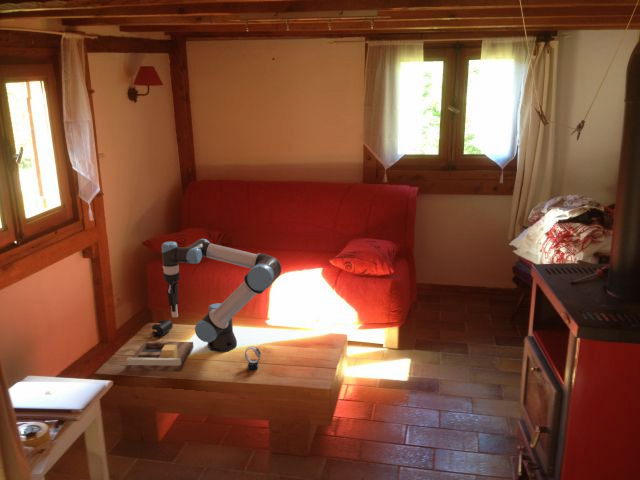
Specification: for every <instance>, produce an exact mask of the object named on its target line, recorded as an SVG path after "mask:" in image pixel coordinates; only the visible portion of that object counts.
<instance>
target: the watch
mask: <svg viewBox="0 0 640 480" xmlns="http://www.w3.org/2000/svg"><path fill="white" fill-rule="evenodd" d="M249 350H250V351H251V350H252V351H253V352H254V354H255V356H256V357H257V358H258V359H250V357H249V356H248V354H247V351H249ZM244 358H245V360H246V361H247V362H248V364H247V369H248V370H247V371H249V370H250V371H251V372H255V371H254V370H257V371H258V369H259V362H260V360H261V358H262V352H261V350H260V349H259V348H258V347H257V346H249V347H248V348H246V349H245V352H244ZM250 371H249V372H250Z"/></svg>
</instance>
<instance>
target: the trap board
mask: <svg viewBox="0 0 640 480" xmlns="http://www.w3.org/2000/svg"><path fill="white" fill-rule="evenodd" d="M165 345H177V351H178V356H177V358H162V349H163V347H164V346H165ZM193 349H194V341H147V340H146V341H143V343H142V344H141V345H140V347H139V348H138V349H137V351H136V352H135V354H134V355H133V356H132V357H127V358H126V367H127V371H128V372H131V371H132V370H133V371H132V372H135V371H136V372H139V371H142V372H181V371H182V370H183V368H184V366H185V364H186V362H187V360H188V358H189V356H190V355H191V352H192V351H193ZM129 370H130V371H129Z"/></svg>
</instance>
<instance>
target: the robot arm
mask: <svg viewBox="0 0 640 480" xmlns="http://www.w3.org/2000/svg"><path fill="white" fill-rule="evenodd" d="M161 255H162V256H161V257H162V267H161V268H162V269H163V270H162V271H163V280H164V282H166V283H167V289H166V295H167V299H168V304H169V305H168V306H170V308H171V311H170V312H171V317H172V318H178V317H179V313H178V304H179V281H180V279H181V278H180V265H179V264H180V263H181V264H182V263H183V264H184V263H185V264H199V263H200V262H201V260H202V258H207V259H212V260H216V261H220V262H223V263H228V264H232V265H236V266H239V267H244V268H248V269H249V271H248V272H247V273H246V274H245V275H244V276H243V282H242V283H241V284H240V285H239V286H238V287H236V289H235V290H233V292H232V293H230V295H229V296H228V297H227V298H226V299H225V300H224V301H223V302H221V303H219V302H218V303H211V304H210V305H209V306H208V312H207V313H206V314H205V315H204V316H203V317H202V319H201V320H199V321H198V322H196V324H195V326H194V331H195V335H196V337H197V338H198V339H199V340H200V341H202V342H204V343H207V348H208V349H209V350H210V351H213V352H217V353H222V352H224V353H225V352H229V351H232V350H233V349H235V348H236V347H237V346H238V341H237V337H236V336H235V333H234V328H233V326H234V325H233V318H234V316H236V315H237V314H238V313H240V311H241V310H242V309H243V308H244V307H245V306H246V305H247V304H248V303H249V302H250V301H251V300H252V299H253V298H254V297H256V295H261V294H263V293H264V292H265V291H266V290H267V289H268V288H270V287H271V285H272V284H273V283H274V282H275V281H276V280H277V279H278V278H279V277H280V275H281V273H282V265H281V262H280V261H279V259H278V258H276V257H275V256H272V255H269V254H266V253H261V252H259V253H252V252H249V251H244V250H241V249H238V248H237V249H236V248H233V247H228V246H225V245H224V246H223V245H219V244H214V243H211V242H210V241H209V240H208V239H206V238H201V239H198V240H196V241H195V242H193V243H192V244H190V245H188V246H186V247H184V246H182V247H181V246H178V243H177V242H176V241H165V242H163V243H162V244H161Z"/></svg>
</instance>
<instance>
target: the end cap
mask: <svg viewBox="0 0 640 480" xmlns="http://www.w3.org/2000/svg"><path fill="white" fill-rule="evenodd" d="M157 323H158V324H157ZM157 323H156V324H153V325H152V326H151V329H152V330H153V331H152V332H151V333H152V335H153V337H154V338H161V337H163V336H164V335H166V334H167V333H168V332H169V331H170V330H172V329H173V322H172V320H170V319H166V320H159V321H157Z"/></svg>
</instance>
